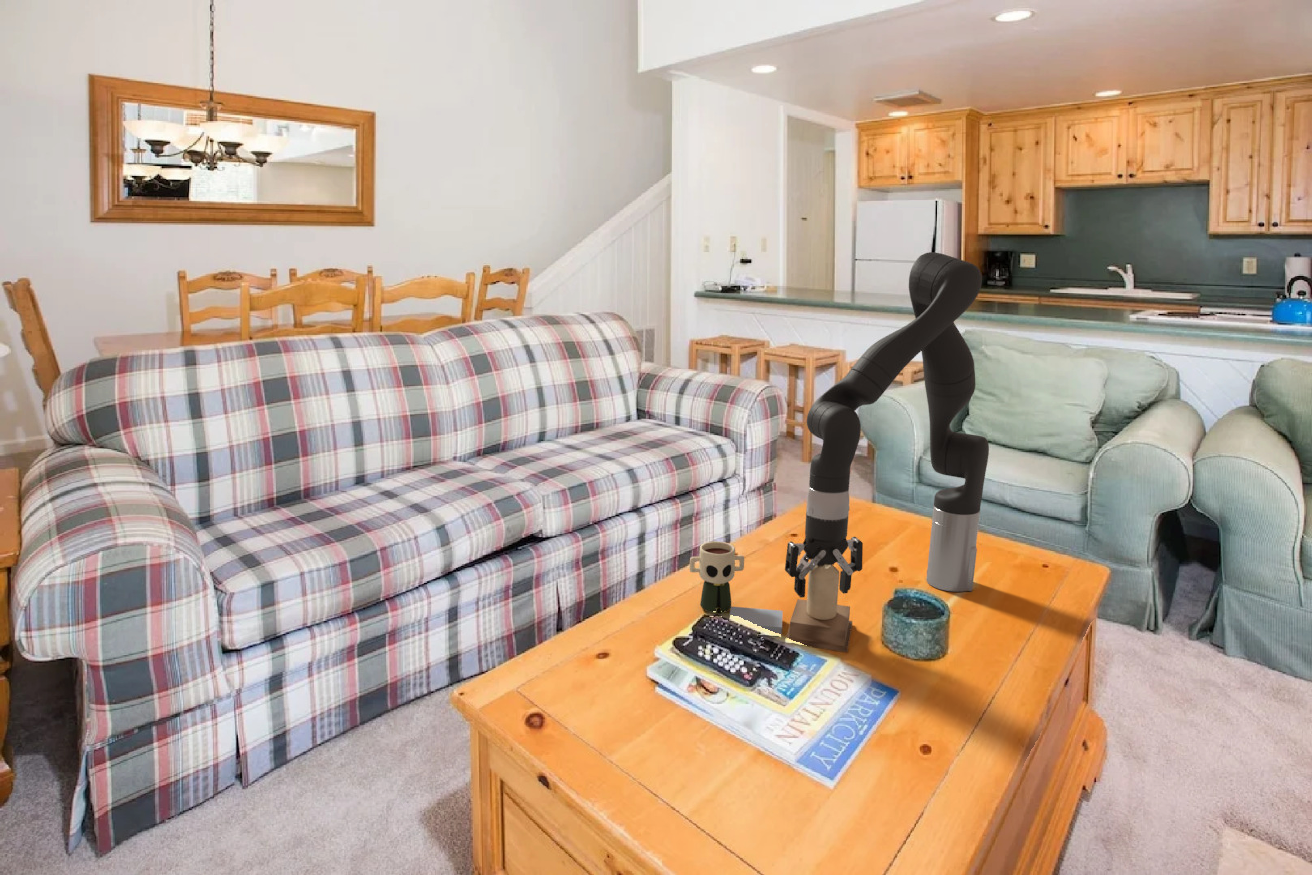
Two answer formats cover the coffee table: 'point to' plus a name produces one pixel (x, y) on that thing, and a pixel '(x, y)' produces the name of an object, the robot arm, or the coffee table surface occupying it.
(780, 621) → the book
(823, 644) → the stand
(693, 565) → the character mug
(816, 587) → the candle
